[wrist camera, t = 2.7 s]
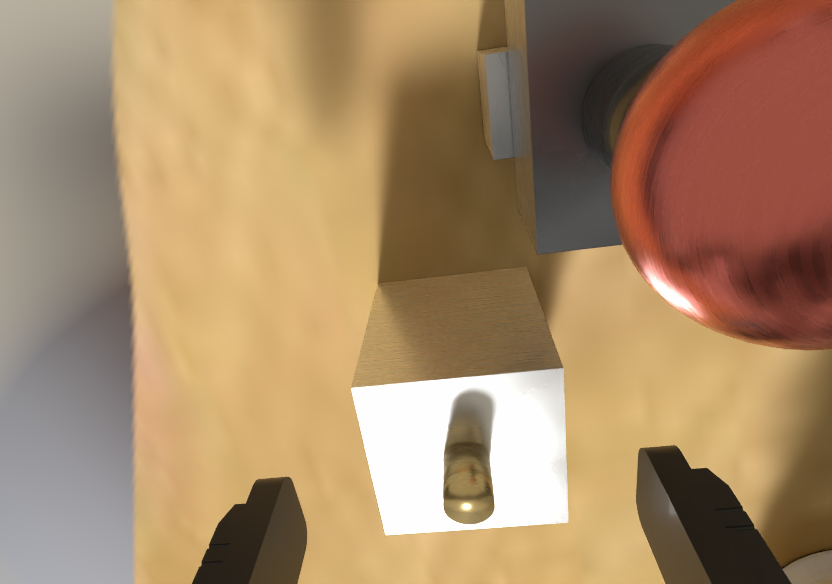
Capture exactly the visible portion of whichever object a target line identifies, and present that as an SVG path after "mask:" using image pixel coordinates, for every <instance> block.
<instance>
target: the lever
mask: <svg viewBox="0 0 832 584" xmlns="http://www.w3.org/2000/svg"><path fill="white" fill-rule="evenodd" d="M504 2H505V17H506V33H507V48H508V63H509V78H510V94H511V109H512V124H513V139H514V155H515V170H516V185H517V201H518V211H519V214H520V216H521V218H522V220H523V223H524V225H525V227H526V230H527V232H528V234H529V237H530V239H531V241H532V243H533V246H534V248H535V250H536V253H537V255H538V254H546V253H555V252H563V251H572V250H581V249H589V248H598V247H606V246H615V245H623V246H624V248H625V250H626V252H627V254H628V255H629V257H630V259H631V261H632V262H633V264H634V266H635V267H636V269H637V270H638V272H639V273H640V274H641V276H642V277H643V278H644V279H645V281H646V282H647V283H648V284H649V286H651V287H652V288H653V289H654V290H655V291H656V292H657V293H658V294H659V295H660V296H661V297H662V298H663V299H664V300H666V301H667V302H668V303H669V304H670V305H671V306H672V307H674V308H675V309H677V310H678V311H680V312H681V313H683V314H684V315H686V316H687V317H689V318H691V319H692V320H694V321H696V322H697V323H699V324H701V325H703V326H705V327H707V328H709V329H711V330H714V331H716V332H718V333H721V334H724V335H727V336H730V337H733V338H736V339H739V340H742V341H745V342H748V343H753V344H758V345H764V346H769V347H776V348H783V349H794V350H826V349H832V0H504Z"/></svg>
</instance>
